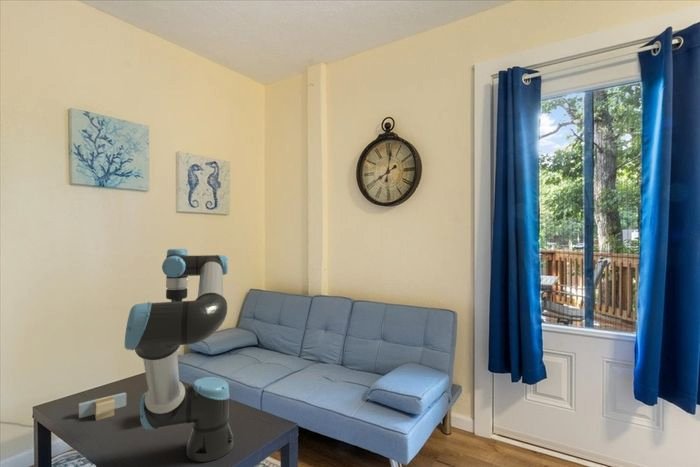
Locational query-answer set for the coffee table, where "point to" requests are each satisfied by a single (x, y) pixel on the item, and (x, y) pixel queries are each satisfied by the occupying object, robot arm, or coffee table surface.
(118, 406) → the board
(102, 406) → the block
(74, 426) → the coffee table surface
